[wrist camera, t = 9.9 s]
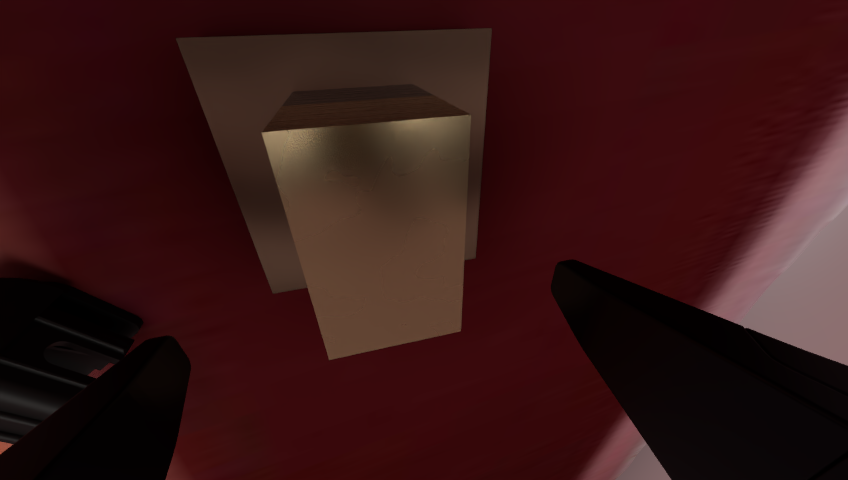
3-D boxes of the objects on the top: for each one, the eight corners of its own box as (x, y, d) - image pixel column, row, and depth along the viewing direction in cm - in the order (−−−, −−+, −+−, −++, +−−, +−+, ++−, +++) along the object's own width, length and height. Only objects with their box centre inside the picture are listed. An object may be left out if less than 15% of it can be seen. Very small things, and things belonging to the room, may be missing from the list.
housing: (329, 253, 17) (329, 359, 11) (292, 91, 13) (261, 132, 7) (419, 238, 18) (460, 331, 12) (412, 83, 14) (471, 114, 8)
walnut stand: (199, 38, 13) (175, 38, 11) (470, 29, 15) (491, 28, 13) (279, 267, 20) (272, 293, 18) (461, 237, 22) (475, 258, 20)
